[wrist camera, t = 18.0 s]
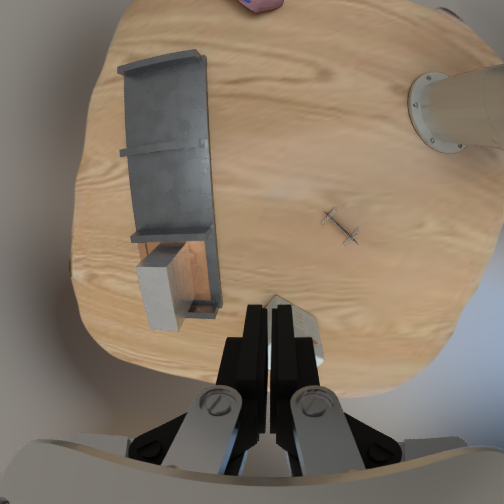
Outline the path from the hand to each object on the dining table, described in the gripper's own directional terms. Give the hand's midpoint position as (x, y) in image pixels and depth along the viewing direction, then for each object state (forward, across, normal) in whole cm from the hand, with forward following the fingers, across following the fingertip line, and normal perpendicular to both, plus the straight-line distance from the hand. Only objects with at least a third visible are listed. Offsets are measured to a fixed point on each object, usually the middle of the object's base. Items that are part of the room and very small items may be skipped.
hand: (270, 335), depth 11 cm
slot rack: (+29, +14, -2) cm, 32 cm away
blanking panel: (+28, +14, +10) cm, 33 cm away
